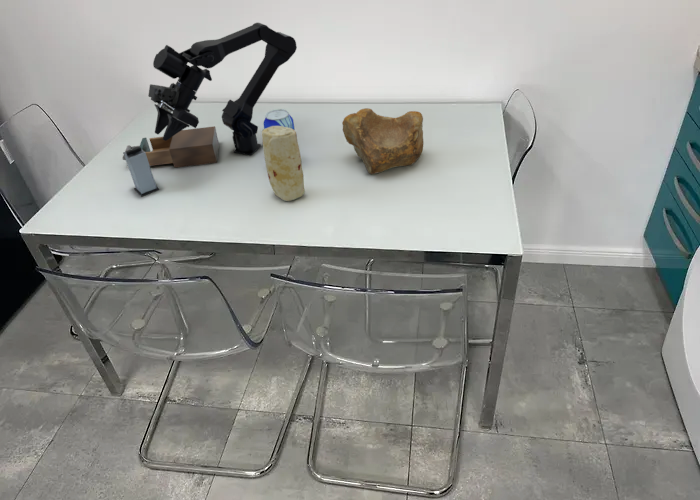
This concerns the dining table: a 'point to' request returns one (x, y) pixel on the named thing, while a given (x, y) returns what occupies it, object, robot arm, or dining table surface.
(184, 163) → the cabinet
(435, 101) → the dining table surface
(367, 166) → the rough brown rock
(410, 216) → the dining table surface
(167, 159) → the drawer
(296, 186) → the food model
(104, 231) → the dining table surface
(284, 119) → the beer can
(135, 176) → the grey box with handle
